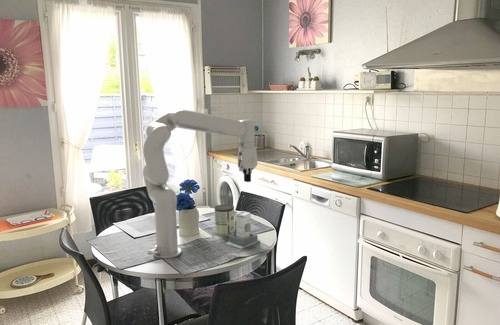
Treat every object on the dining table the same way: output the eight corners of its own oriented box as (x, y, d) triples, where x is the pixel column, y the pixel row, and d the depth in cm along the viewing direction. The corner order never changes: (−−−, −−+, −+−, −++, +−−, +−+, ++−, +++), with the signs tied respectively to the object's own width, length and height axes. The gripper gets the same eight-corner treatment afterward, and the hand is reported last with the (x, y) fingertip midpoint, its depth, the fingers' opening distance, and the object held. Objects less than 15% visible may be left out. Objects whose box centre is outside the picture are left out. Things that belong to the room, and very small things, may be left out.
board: (240, 249, 195) (240, 247, 195) (225, 244, 202) (225, 242, 202) (260, 240, 205) (260, 239, 205) (245, 236, 212) (245, 235, 212)
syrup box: (240, 238, 207) (240, 210, 205) (251, 240, 204) (250, 212, 202) (234, 242, 202) (234, 213, 200) (245, 244, 199) (244, 215, 197)
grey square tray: (243, 246, 196) (243, 240, 196) (228, 241, 203) (228, 235, 203) (257, 240, 204) (257, 235, 203) (242, 236, 210) (242, 230, 210)
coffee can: (216, 229, 223) (216, 204, 221) (235, 229, 222) (235, 204, 220) (213, 235, 213) (212, 209, 211) (233, 236, 212) (232, 209, 210)
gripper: (242, 147, 194) (242, 185, 198) (262, 143, 205) (262, 180, 208) (230, 145, 199) (231, 183, 203) (251, 142, 210) (251, 178, 213)
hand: (247, 181), depth 205 cm, fingers closed
